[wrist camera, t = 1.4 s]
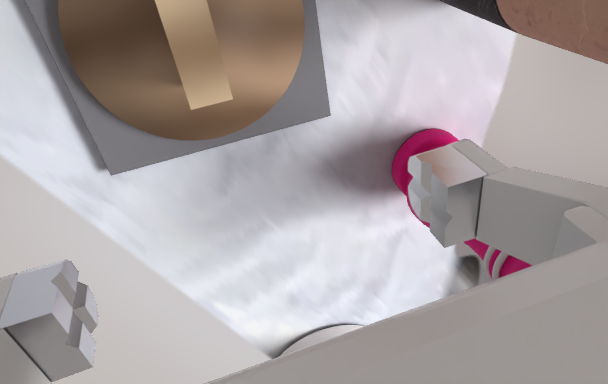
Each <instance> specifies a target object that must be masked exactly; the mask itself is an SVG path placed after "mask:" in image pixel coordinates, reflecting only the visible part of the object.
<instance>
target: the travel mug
mask: <svg viewBox="0 0 608 384" xmlns="http://www.w3.org/2000/svg"><path fill="white" fill-rule="evenodd" d="M440 1H442V2H444V3H447V4H449V5H451V6H453V7H456V8H458V9H461V10H463V11H465V12H468V13H470V14H473V15H475V16H478V17H480V18H482V19H485V20H487V21H490V22H492V23H495V24H497V25H499V26H502V27H504V28H507V29H509V30H512V31H514V32H516V33H519V34H522V35H524V36H527V37H530V38H533V39H536V40H539V41H541V42H545V43H547V44H551V45H553V46H556V47H559V48H562V49H565V50H568V51H571V52H574V53H577V54H580V55H583V56H586V57H589V58H592V59H594V60H597V61H600V62H604V63H606V64H608V0H440Z"/></svg>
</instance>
